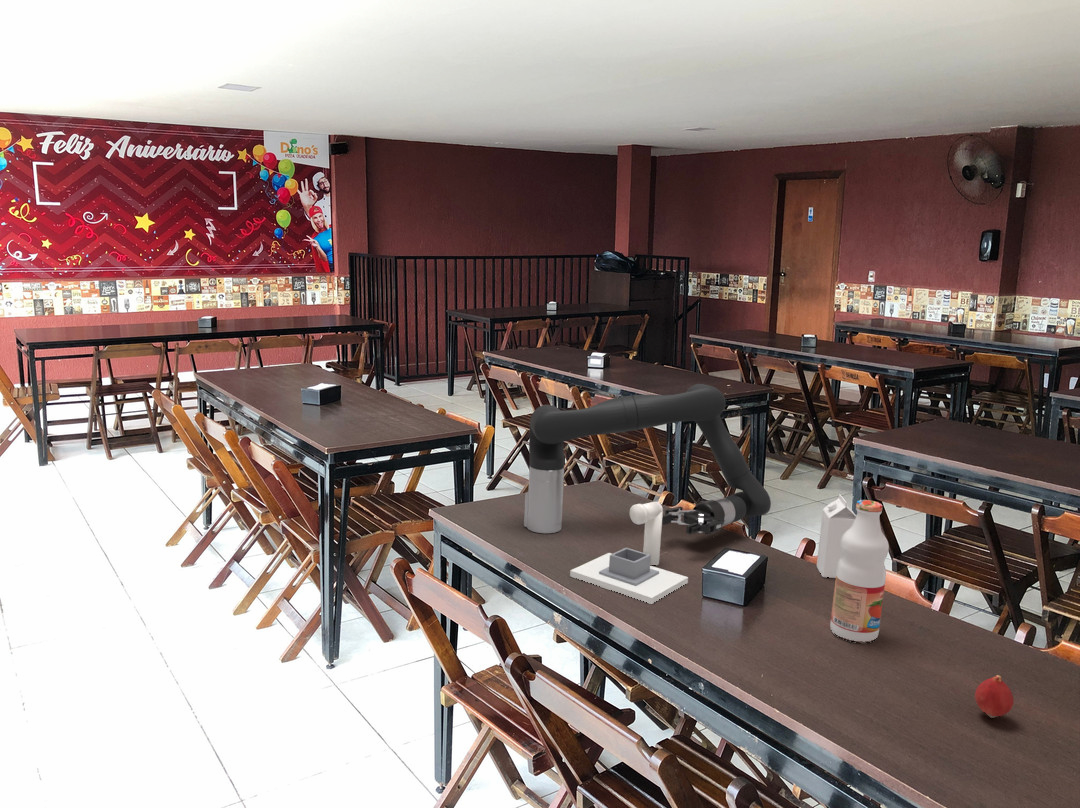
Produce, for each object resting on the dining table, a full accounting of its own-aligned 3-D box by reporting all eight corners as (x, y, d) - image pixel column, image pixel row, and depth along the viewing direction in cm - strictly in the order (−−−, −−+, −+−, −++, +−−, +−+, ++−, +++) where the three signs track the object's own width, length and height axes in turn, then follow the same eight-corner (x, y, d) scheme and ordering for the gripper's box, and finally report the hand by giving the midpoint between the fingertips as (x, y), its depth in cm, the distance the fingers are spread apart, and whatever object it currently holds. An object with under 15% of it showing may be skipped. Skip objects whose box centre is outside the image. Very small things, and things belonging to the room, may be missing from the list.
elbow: (648, 558, 216) (653, 496, 213) (663, 564, 212) (668, 501, 209) (626, 565, 210) (630, 502, 207) (640, 571, 207) (645, 507, 204)
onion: (965, 708, 152) (971, 666, 150) (996, 708, 152) (1003, 666, 151) (984, 727, 146) (991, 683, 144) (1017, 727, 146) (1024, 683, 145)
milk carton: (845, 569, 214) (854, 495, 211) (852, 580, 207) (862, 503, 204) (816, 566, 215) (824, 492, 211) (822, 577, 208) (831, 501, 204)
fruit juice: (828, 620, 185) (843, 493, 179) (875, 627, 182) (892, 499, 177) (830, 639, 176) (846, 507, 170) (880, 647, 173) (897, 513, 168)
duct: (569, 576, 202) (571, 551, 201) (608, 558, 214) (610, 534, 213) (651, 604, 189) (653, 577, 188) (687, 583, 201) (689, 558, 200)
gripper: (693, 493, 232) (653, 503, 221) (738, 507, 221) (698, 518, 211) (691, 520, 233) (651, 531, 222) (735, 535, 223) (695, 548, 212)
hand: (674, 525), depth 217 cm, fingers open, 8 cm apart
